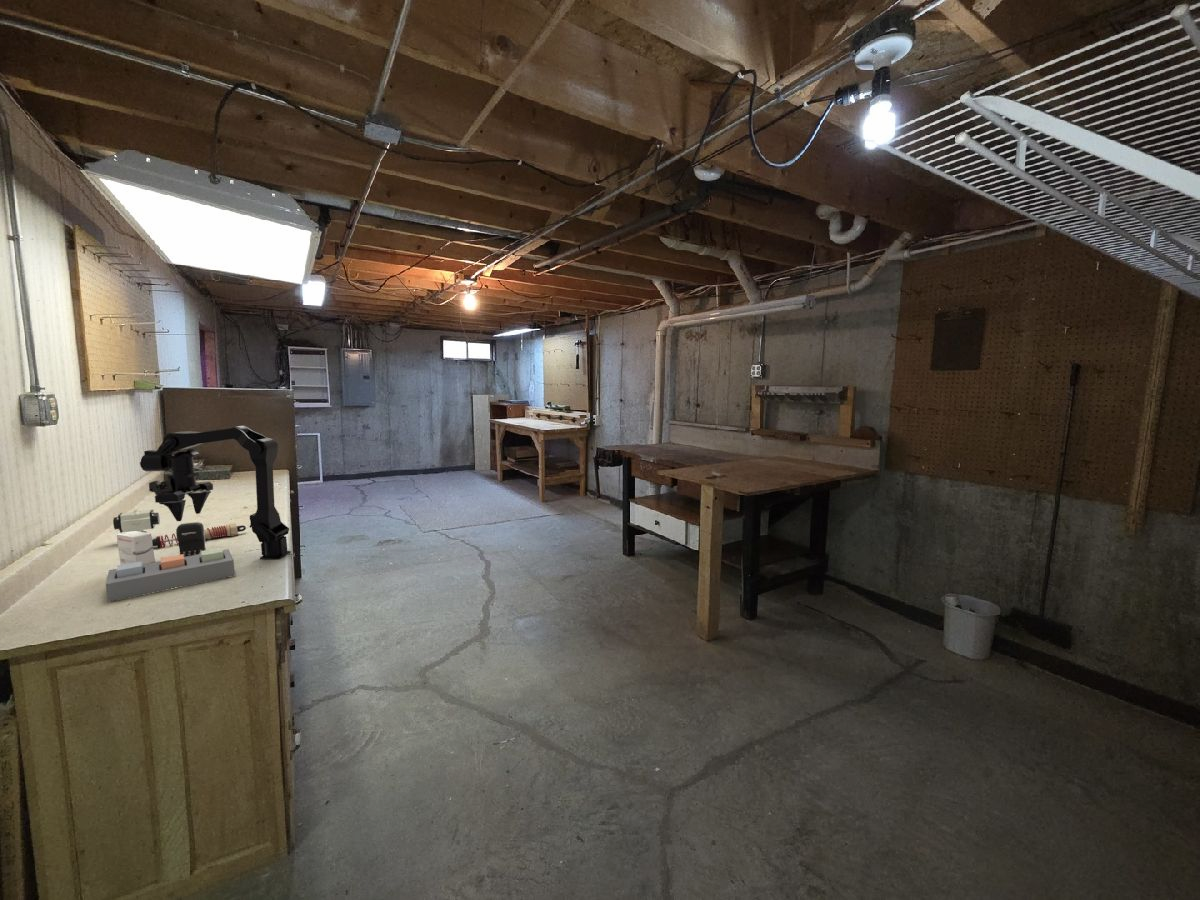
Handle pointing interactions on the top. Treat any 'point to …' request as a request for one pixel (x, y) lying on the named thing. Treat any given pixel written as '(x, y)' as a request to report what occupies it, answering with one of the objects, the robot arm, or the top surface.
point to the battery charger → (191, 538)
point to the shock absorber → (209, 533)
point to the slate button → (129, 569)
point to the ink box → (135, 547)
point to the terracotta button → (172, 561)
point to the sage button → (212, 554)
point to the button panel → (168, 576)
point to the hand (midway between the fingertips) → (188, 517)
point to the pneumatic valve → (136, 521)
